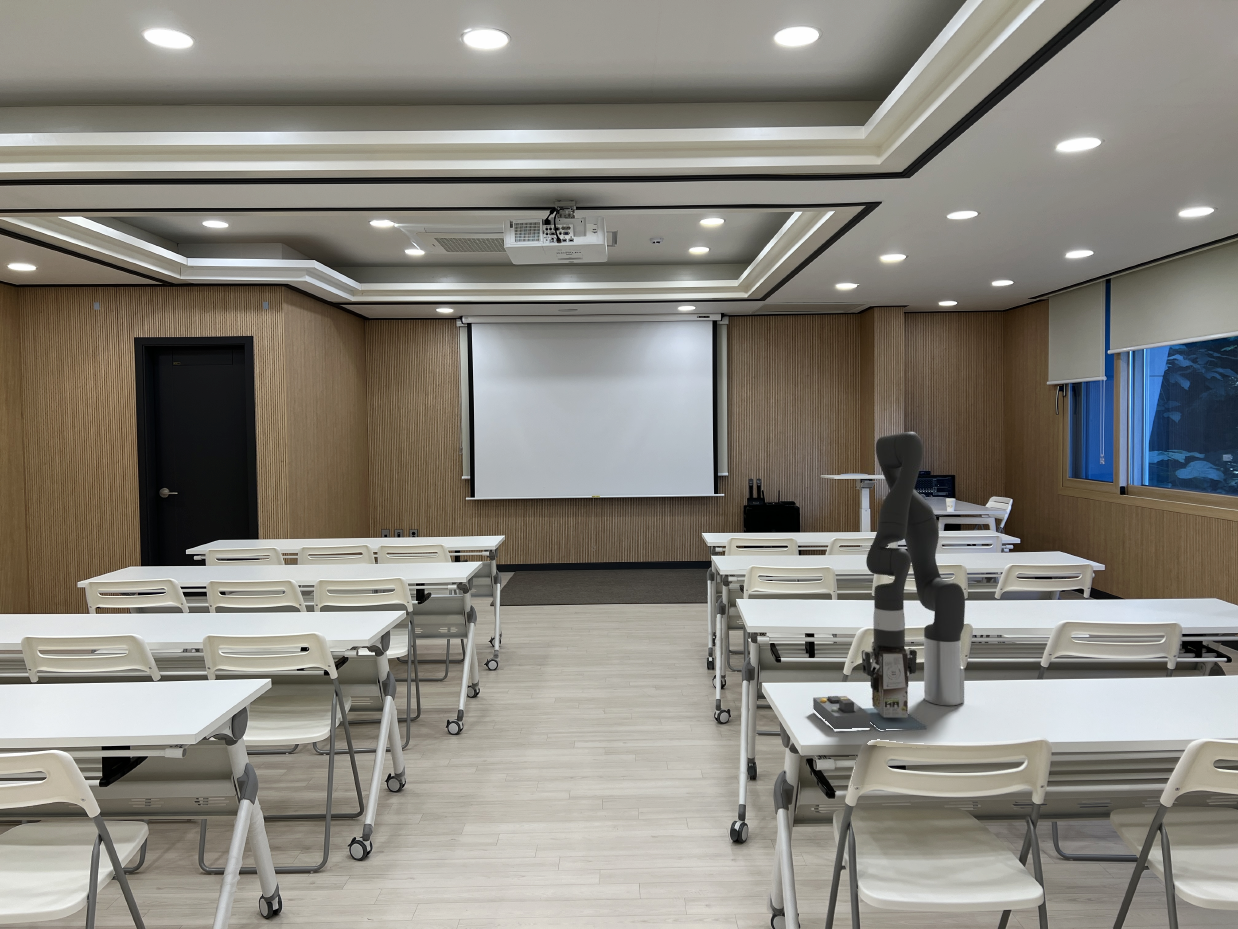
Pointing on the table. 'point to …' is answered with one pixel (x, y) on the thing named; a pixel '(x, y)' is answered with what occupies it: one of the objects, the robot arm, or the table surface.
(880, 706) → the coffee box
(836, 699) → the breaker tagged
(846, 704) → the block
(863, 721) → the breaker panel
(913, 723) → the mat
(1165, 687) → the table surface
